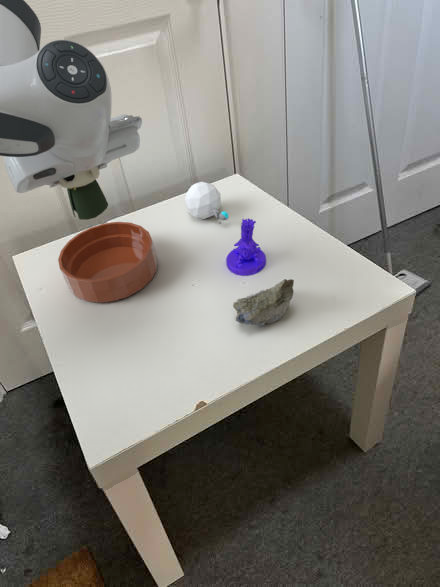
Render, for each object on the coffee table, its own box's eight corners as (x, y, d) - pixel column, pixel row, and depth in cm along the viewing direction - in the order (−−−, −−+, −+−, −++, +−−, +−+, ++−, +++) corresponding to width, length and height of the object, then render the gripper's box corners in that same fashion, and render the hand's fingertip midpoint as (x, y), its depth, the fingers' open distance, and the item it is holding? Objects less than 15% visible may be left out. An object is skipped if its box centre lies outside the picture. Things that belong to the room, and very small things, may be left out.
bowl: (75, 316, 85) (64, 293, 81) (64, 260, 98) (53, 238, 94) (168, 285, 88) (162, 261, 84) (145, 235, 101) (139, 212, 97)
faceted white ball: (208, 184, 107) (246, 206, 101) (189, 214, 107) (225, 238, 102) (192, 169, 100) (231, 192, 94) (171, 201, 101) (209, 226, 95)
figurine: (269, 275, 89) (274, 233, 82) (229, 278, 88) (230, 236, 81) (260, 250, 94) (264, 209, 87) (223, 253, 93) (223, 212, 86)
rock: (274, 281, 84) (297, 272, 74) (288, 311, 84) (313, 306, 74) (221, 306, 81) (237, 300, 71) (235, 337, 81) (253, 335, 71)
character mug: (57, 213, 82) (28, 145, 73) (87, 194, 86) (63, 127, 77) (96, 231, 76) (70, 160, 67) (127, 210, 80) (106, 139, 71)
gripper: (133, 93, 66) (125, 136, 79) (-9, 139, 60) (8, 177, 73) (152, 133, 66) (141, 168, 80) (13, 183, 60) (26, 212, 73)
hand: (76, 173), depth 76 cm, fingers closed on character mug, 7 cm apart
